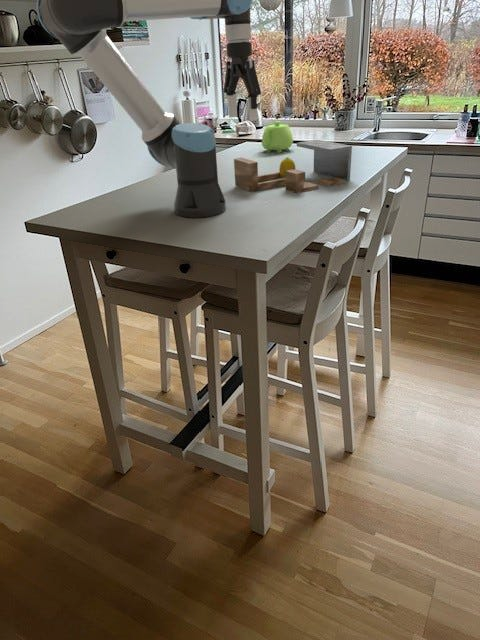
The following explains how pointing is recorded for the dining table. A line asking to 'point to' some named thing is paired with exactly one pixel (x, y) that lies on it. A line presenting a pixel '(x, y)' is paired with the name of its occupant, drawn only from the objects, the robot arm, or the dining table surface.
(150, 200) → the dining table surface
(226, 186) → the dining table surface
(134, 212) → the dining table surface
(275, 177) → the wooden frame
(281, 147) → the green round lobed piece
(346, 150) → the shelf
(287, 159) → the lemon
